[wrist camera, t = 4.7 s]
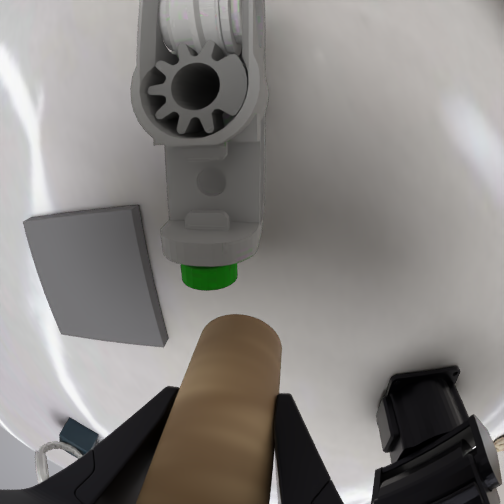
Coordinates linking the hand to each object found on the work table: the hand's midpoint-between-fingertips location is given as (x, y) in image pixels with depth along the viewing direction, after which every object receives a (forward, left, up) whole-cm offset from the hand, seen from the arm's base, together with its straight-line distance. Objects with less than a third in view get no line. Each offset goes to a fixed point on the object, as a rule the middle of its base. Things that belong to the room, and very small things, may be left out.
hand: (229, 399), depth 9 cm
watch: (+25, +25, -11) cm, 37 cm away
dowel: (0, 0, -3) cm, 3 cm away
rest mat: (+12, +1, -11) cm, 16 cm away
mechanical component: (0, -9, -11) cm, 14 cm away
